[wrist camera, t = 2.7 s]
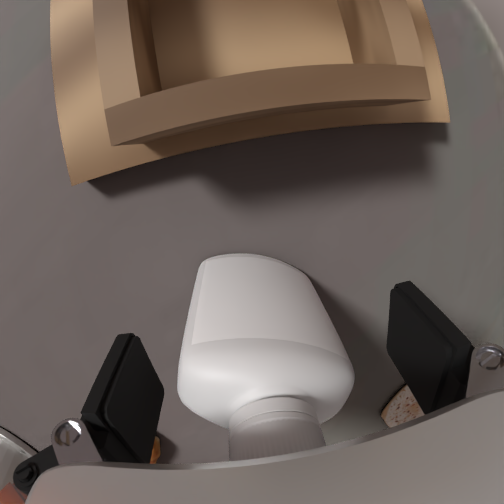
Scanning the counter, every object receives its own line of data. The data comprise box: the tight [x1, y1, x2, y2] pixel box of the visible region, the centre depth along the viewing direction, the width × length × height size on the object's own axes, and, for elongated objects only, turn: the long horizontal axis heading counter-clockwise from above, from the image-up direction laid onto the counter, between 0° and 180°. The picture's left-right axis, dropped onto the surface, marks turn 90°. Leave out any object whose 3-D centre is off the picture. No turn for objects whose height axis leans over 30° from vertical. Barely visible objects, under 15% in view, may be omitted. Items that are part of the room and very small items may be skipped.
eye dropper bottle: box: [177, 253, 355, 461], centre depth 10 cm, size 4×6×12 cm
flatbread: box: [381, 384, 425, 428], centre depth 20 cm, size 8×8×1 cm
